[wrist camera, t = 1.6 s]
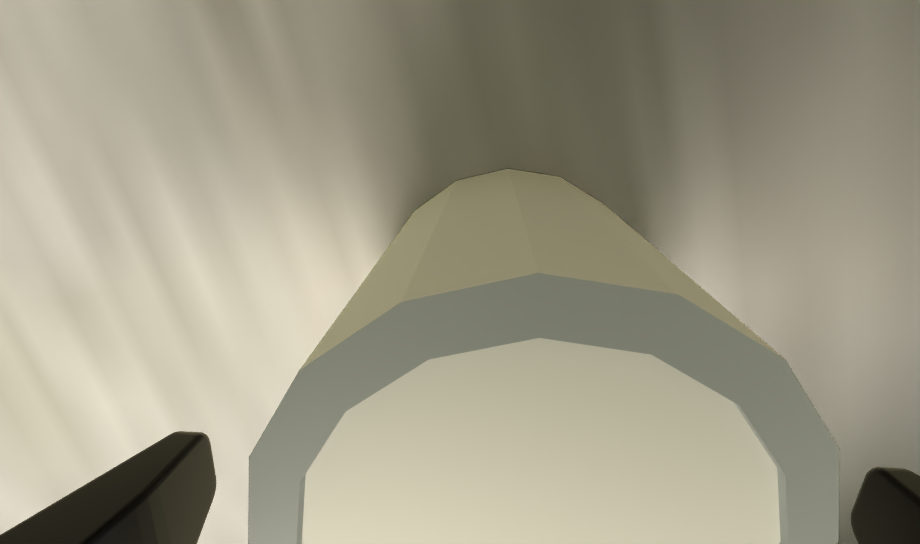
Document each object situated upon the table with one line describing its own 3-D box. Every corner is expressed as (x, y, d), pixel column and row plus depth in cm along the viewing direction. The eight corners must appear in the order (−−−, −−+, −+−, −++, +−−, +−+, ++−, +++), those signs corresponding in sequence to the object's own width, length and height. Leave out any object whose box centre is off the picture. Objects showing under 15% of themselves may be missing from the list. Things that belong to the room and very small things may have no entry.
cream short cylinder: (506, 63, 11) (541, 119, 5) (729, 286, 13) (978, 550, 6) (297, 297, 13) (126, 554, 7) (511, 462, 15) (535, 791, 9)
